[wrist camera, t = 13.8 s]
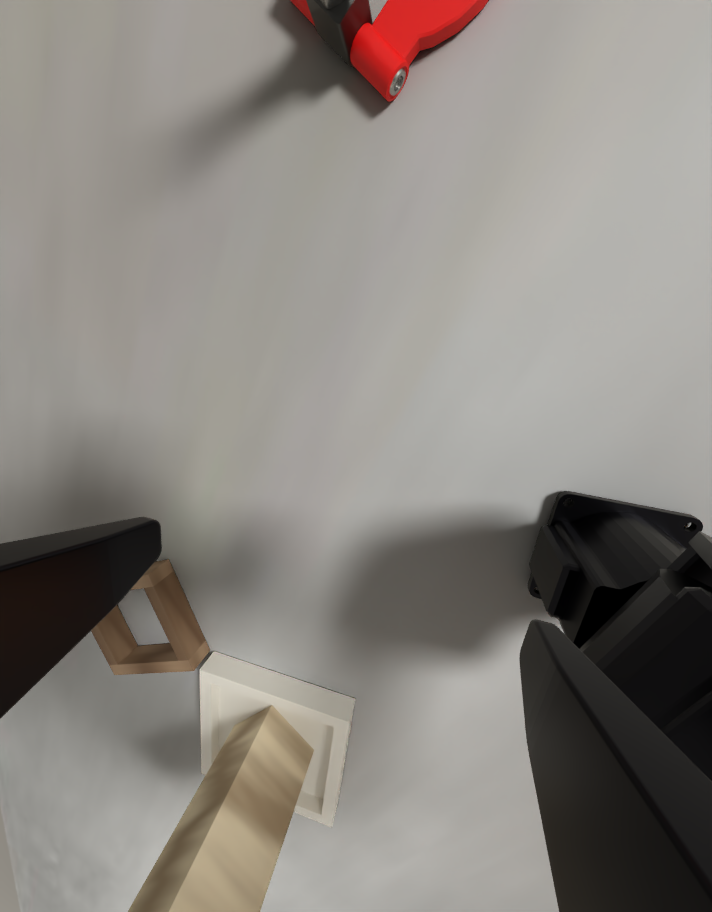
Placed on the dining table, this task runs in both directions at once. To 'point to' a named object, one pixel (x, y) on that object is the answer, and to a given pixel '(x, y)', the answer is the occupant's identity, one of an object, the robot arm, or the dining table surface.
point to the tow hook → (387, 33)
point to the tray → (302, 704)
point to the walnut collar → (174, 619)
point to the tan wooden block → (232, 823)
